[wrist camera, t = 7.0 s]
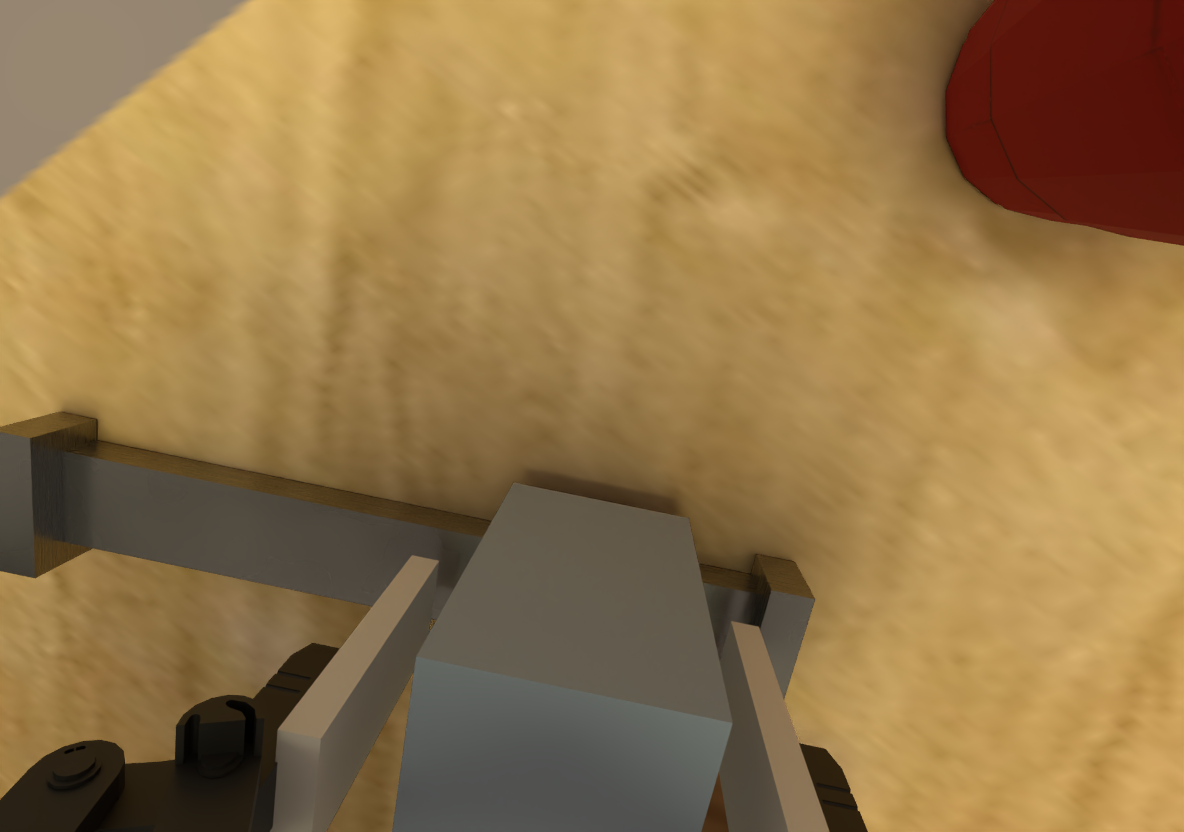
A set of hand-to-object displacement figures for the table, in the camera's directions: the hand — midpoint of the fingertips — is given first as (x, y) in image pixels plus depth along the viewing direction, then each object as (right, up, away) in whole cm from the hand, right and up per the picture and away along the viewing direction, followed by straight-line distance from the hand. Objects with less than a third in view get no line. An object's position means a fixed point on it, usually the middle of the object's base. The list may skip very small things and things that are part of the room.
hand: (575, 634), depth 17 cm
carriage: (0, +1, +3) cm, 3 cm away
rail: (-5, +2, +3) cm, 6 cm away
